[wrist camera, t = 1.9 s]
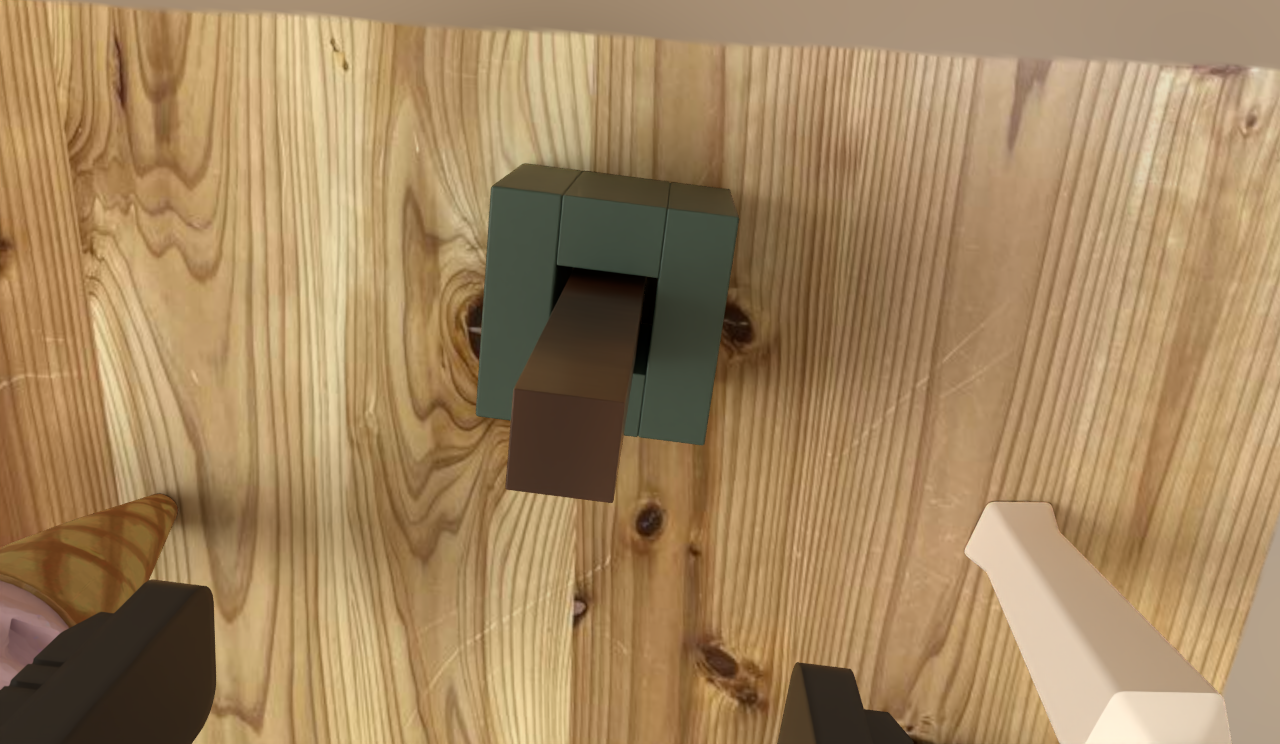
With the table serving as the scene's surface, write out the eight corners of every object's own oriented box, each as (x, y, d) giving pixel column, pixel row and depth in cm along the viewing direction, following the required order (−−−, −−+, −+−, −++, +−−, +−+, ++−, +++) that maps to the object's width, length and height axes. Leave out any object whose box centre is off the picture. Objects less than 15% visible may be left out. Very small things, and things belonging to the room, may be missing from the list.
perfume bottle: (1035, 465, 37) (1251, 721, 23) (1089, 546, 38) (1328, 838, 24) (934, 525, 38) (1080, 805, 24) (989, 603, 39) (1161, 915, 25)
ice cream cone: (54, 516, 40) (-293, 773, 26) (111, 402, 38) (-229, 611, 24) (196, 595, 41) (-63, 885, 27) (258, 488, 39) (16, 738, 25)
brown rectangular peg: (650, 250, 35) (625, 403, 20) (642, 312, 36) (613, 503, 21) (586, 242, 35) (513, 388, 20) (580, 304, 36) (504, 490, 21)
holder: (730, 189, 34) (739, 217, 29) (701, 385, 37) (704, 446, 31) (522, 162, 34) (490, 185, 29) (507, 360, 37) (474, 416, 31)
